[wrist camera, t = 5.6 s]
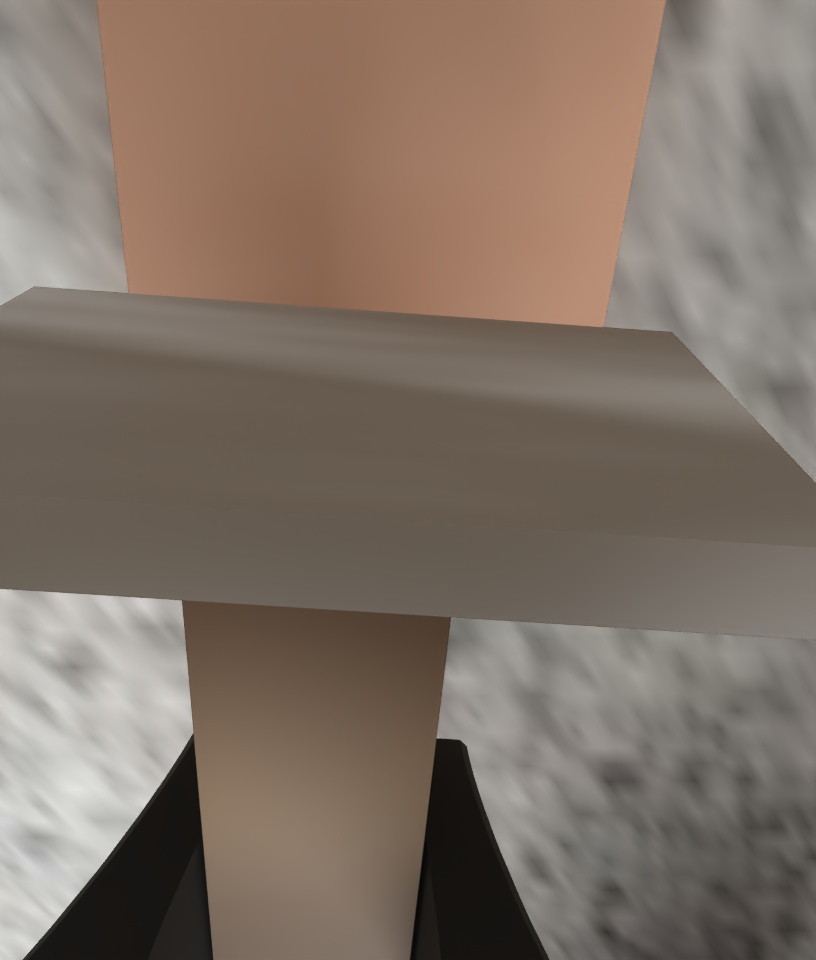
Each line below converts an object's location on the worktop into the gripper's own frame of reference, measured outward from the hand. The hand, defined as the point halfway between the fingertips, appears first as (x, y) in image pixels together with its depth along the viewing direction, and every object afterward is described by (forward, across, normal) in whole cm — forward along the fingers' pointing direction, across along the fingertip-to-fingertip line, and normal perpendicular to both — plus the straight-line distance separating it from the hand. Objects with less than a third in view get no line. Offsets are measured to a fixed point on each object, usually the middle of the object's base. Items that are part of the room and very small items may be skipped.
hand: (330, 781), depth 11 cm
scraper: (+2, 0, 0) cm, 2 cm away
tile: (+6, 0, -4) cm, 7 cm away
